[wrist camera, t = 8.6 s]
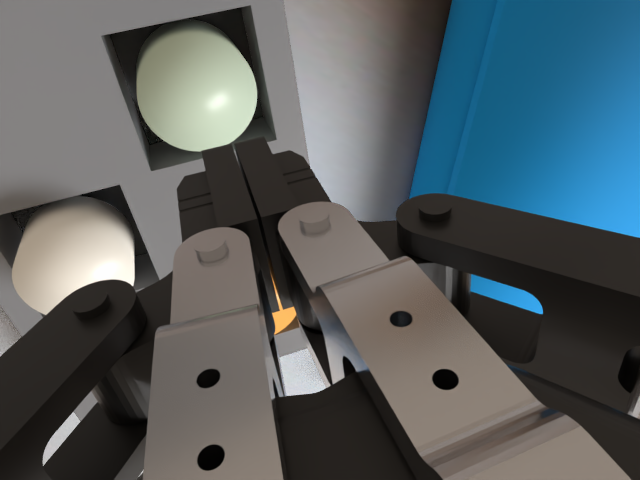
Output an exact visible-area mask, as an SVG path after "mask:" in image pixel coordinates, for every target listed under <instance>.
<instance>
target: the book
mask: <svg viewBox="0 0 640 480" xmlns="http://www.w3.org/2000/svg"><path fill="white" fill-rule="evenodd" d="M430 193H442V194H449V195H454V196H459V197H463V198H467V199H472V200H476V201H480V202H485V203H489V204H494V205H498V206H502V207H507V208H511V209H516V210H520V211H524V212H529V213H533V214H537V215H542V216H546V217H551V218H555V219H559V220H564V221H568V222H572V223H577V224H581V225H586V226H590V227H594V228H599V229H603V230H608V231H612V232H616V233H621V234H625V235H629V236H634V237H638V238H640V0H452V4H451V8H450V13H449V17H448V22H447V26H446V31H445V36H444V40H443V45H442V49H441V54H440V59H439V63H438V68H437V72H436V77H435V81H434V86H433V91H432V95H431V100H430V104H429V109H428V113H427V118H426V123H425V127H424V132H423V136H422V141H421V146H420V150H419V155H418V159H417V164H416V168H415V173H414V178H413V182H412V187H411V191H410V196H409V199H410V198H413V197H415V196H419V195H423V194H430ZM470 291H471V292H474V293H478V294H481V295H484V296H487V297H490V298H493V299H496V300H499V301H502V302H505V303H508V304H511V305H514V306H517V307H520V308H523V309H526V310H529V311H532V312H535V313H539V314H543V309H542V306H541V304H540V302H539V301H538V300H537V299H536V298H535V297H534V296H533V295H532V294H530V293H528V292H526V291H524V290H521V289H518V288H515V287H511V286H508V285H505V284H502V283H499V282H495V281H492V280H489V279H486V278H482V277H479V276H476V275H473V274H471V289H470Z"/></svg>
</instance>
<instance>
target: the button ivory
mask: <svg viewBox="0 0 640 480" xmlns="http://www.w3.org/2000/svg"><path fill="white" fill-rule="evenodd" d="M110 279H116V280H122V281H126V282H128V283H129V284H131V285H132V286H133V285H134V279H135V269H134V233H133V230H132V227H131V225H130V223H129V221H128V220H127V218H126V217H125V216H124V215H123V214H122V213H121V212H120V211H119V210H118V209H116V208H115V207H113V206H112V205H110V204H108V203H106V202H104V201H101V200H98V199H95V198H91V197H84V196H73V197H69V198H65V199H61V200H57V201H53V202H49V203H46V204H44V205H43V206H41V207H40V208H38V209H37V210H36V211H35V212H34V213H33V214H32V215H31V217H30V218H29V220H28V222H27V224H26V226H25V229H24V232H23V236H22V239H21V242H20V245H19V248H18V251H17V254H16V258H15V261H14V264H13V268H12V281H13V285H14V288H15V290H16V291H17V293H18V295H19V296H20V297H21V299H22V300H23V301H24V302H25V303H26V304H28V305H29V306H30V307H31V308H33V309H35V310H36V311H38V312H40V313H42V314H45V315H47V314H48V313H49V312H50V311H51V310H52V309H53V308H54V307H55V306H56V305H57V304H59V303H60V302H61V301H62V300H63V299H64V298H65V297H67V296H68V295H69V294H71V293H72V292H74V291H76V290H77V289H79V288H81V287H83V286H86V285H88V284H91V283H94V282H98V281H102V280H110Z"/></svg>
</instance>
